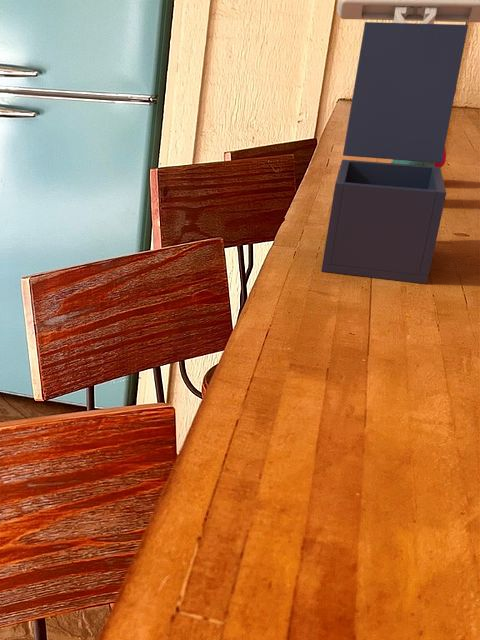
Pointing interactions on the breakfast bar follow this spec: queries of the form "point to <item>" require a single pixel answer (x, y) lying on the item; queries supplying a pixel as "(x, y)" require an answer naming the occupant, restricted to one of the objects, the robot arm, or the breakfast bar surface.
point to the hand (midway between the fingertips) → (410, 40)
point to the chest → (384, 220)
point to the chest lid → (404, 90)
